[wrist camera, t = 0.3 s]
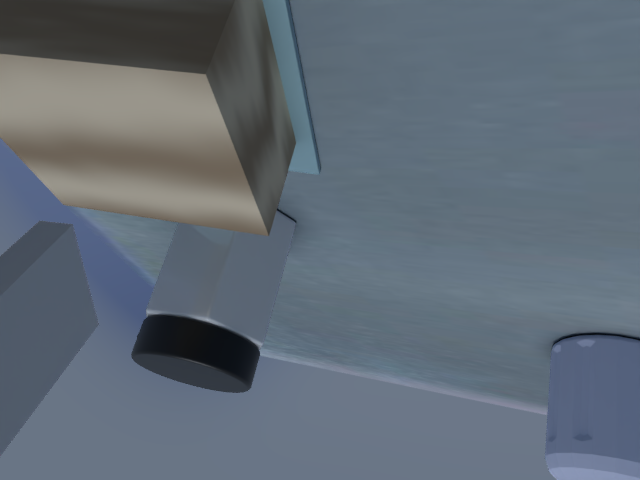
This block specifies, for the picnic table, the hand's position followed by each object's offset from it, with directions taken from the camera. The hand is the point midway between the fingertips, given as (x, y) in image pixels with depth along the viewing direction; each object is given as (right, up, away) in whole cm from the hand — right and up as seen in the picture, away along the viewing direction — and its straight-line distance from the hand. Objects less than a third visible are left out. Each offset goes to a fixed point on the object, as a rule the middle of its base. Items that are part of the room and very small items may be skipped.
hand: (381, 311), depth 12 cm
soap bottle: (+24, -8, +40) cm, 47 cm away
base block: (-9, +11, +18) cm, 23 cm away
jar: (-7, +3, +33) cm, 34 cm away
